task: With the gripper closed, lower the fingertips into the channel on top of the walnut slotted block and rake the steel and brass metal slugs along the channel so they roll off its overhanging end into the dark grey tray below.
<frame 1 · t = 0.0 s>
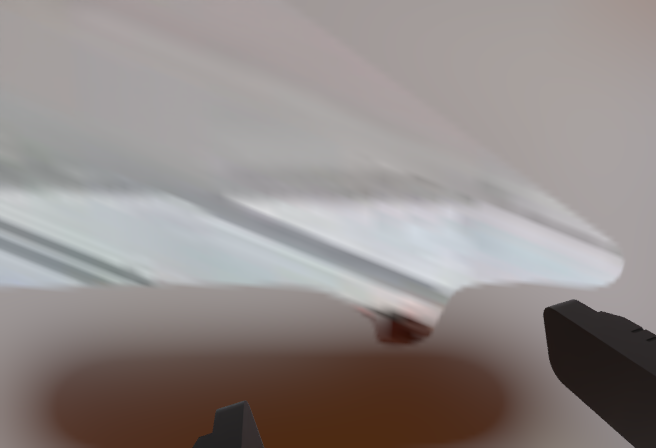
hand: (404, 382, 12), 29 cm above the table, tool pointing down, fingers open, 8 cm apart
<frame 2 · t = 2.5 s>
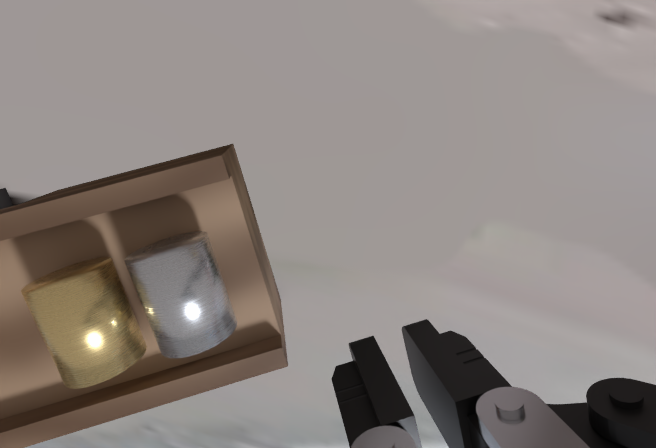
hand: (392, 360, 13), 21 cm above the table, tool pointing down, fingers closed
steel slug: (185, 279, 25), point 8 cm above the table, tilted 6°, touching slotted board
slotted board: (162, 252, 32), on the table
brass slug: (73, 314, 24), point 8 cm above the table, tilted 41°, touching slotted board
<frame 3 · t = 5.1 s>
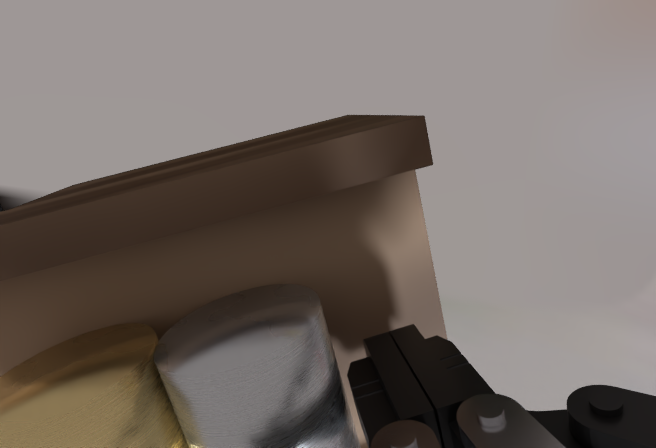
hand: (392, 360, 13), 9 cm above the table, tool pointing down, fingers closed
steel slug: (309, 361, 13), point 8 cm above the table, tilted 40°, touching gripper, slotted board
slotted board: (232, 281, 21), on the table
brass slug: (112, 411, 13), point 8 cm above the table, tilted 14°, touching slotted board
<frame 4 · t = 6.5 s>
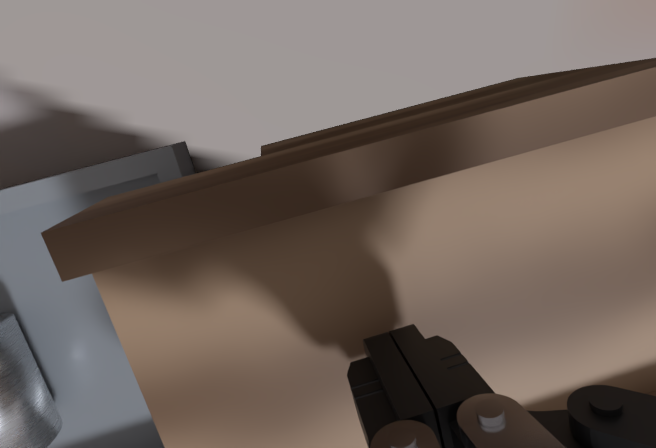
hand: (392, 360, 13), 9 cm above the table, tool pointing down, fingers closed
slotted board: (398, 242, 21), on the table
grey tray: (37, 347, 20), on the table
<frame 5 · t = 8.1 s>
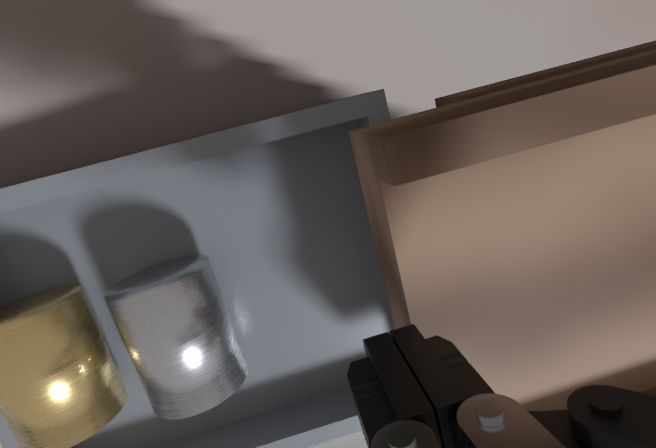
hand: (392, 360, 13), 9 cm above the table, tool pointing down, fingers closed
steel slug: (129, 357, 17), point 4 cm above the table, tilted 114°, touching grey tray
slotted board: (553, 196, 22), on the table
grey tray: (213, 294, 21), on the table
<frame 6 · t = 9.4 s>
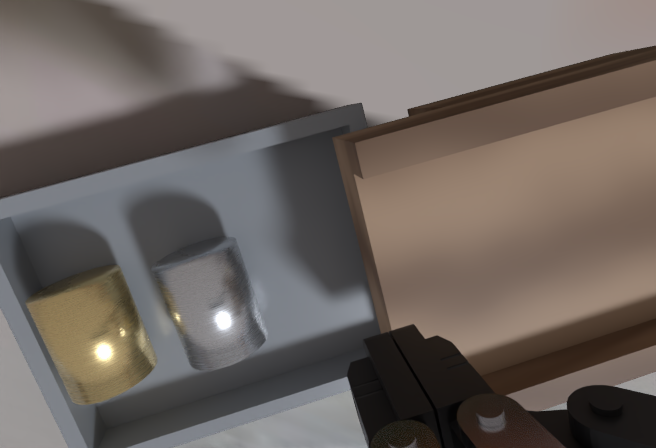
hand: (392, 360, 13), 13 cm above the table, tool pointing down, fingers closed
steel slug: (180, 322, 20), point 4 cm above the table, tilted 139°, touching grey tray
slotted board: (511, 191, 26), on the table
brass slug: (49, 353, 20), point 4 cm above the table, tilted 120°, touching grey tray
grey tray: (220, 277, 24), on the table
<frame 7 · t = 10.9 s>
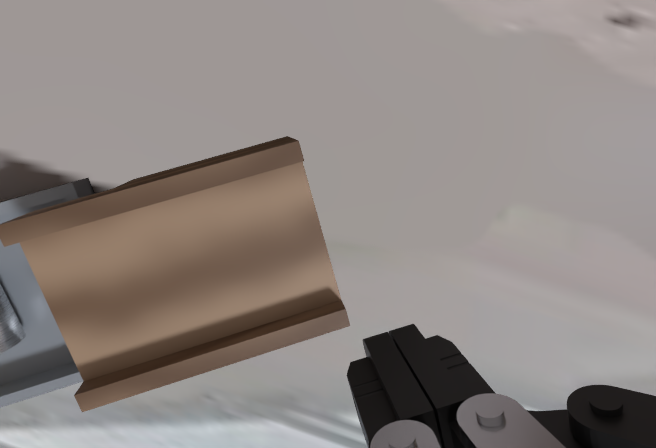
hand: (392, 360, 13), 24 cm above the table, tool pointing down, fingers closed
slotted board: (223, 234, 36), on the table
grey tray: (5, 299, 34), on the table
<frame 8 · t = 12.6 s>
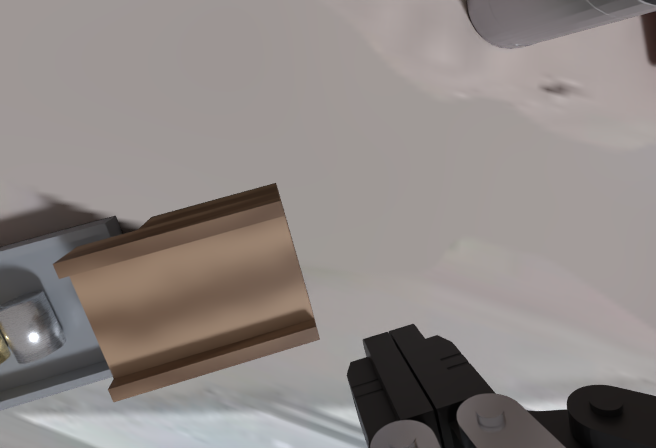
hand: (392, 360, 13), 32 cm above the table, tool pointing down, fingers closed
steel slug: (6, 338, 39), point 4 cm above the table, tilted 136°, touching grey tray
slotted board: (223, 260, 44), on the table
grey tray: (48, 310, 43), on the table
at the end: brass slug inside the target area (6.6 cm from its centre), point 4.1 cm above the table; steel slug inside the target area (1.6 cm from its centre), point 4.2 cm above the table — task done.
